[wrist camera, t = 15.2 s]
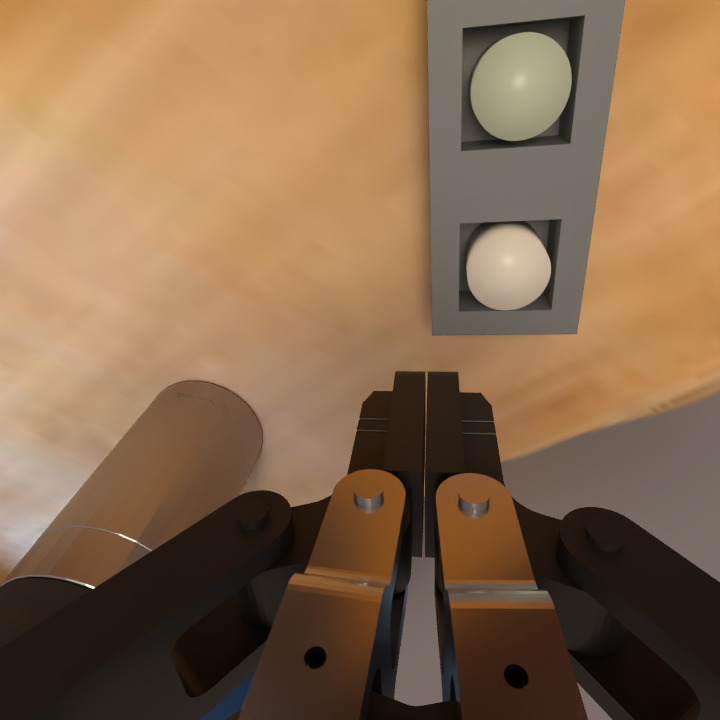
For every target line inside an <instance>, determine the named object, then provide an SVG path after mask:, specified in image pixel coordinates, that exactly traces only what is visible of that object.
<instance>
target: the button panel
mask: <svg viewBox="0 0 720 720" xmlns="http://www.w3.org/2000/svg"><path fill="white" fill-rule="evenodd" d="M624 5H625V0H427V24H428V91H429V157H430V224H431V291H432V336H434V335H540V334H577V330H578V323H579V316H580V309H581V302H582V295H583V289H584V282H585V275H586V268H587V261H588V254H589V247H590V240H591V233H592V226H593V219H594V213H595V206H596V199H597V192H598V185H599V178H600V171H601V164H602V157H603V150H604V143H605V136H606V130H607V123H608V116H609V109H610V102H611V95H612V88H613V81H614V74H615V67H616V60H617V53H618V47H619V40H620V33H621V26H622V19H623V12H624ZM523 32H534V33H540V34H543V35H546V36H548V37H550V38H551V39H553V40H554V41H556V42H557V43H558V44H559V45H560V46H561V48H562V49H563V50H564V52H565V54H566V55H567V57H568V60H569V63H570V67H571V74H572V83H571V90H570V95H569V98H568V101H567V103H566V106H565V107H564V109H563V111H562V113H561V114H560V116H559V117H558V118H557V120H556V121H555V122H554V123H553V124H552V125H551V126H550V127H549V128H548V129H546V130H545V131H543V132H542V133H540V134H538V135H537V136H534V137H532V138H529V139H526V140H521V141H508V140H503V139H500V138H497V137H495V136H493V135H492V134H490V133H489V132H488V131H486V130H485V129H484V128H483V126H482V125H481V124H480V122H479V121H478V119H477V117H476V115H475V113H474V111H473V109H472V107H471V104H470V100H469V90H468V88H469V80H470V75H471V72H472V69H473V67H474V65H475V63H476V61H477V59H478V58H479V57H480V55H481V54H482V53H483V52H484V50H485V49H486V48H487V47H489V46H490V45H491V44H492V43H494V42H495V41H497V40H499V39H501V38H503V37H506V36H509V35H513V34H517V33H523ZM507 221H525V222H527V223H528V224H530V225H531V226H532V227H533V228H534V230H535V231H536V233H537V234H538V236H539V238H540V240H541V242H542V244H543V246H544V248H545V250H546V252H547V254H548V256H549V259H550V263H551V274H550V279H549V282H548V284H547V286H546V288H545V290H544V291H543V292H542V294H541V295H540V296H539V297H538V298H537V299H536V300H534V301H533V302H532V303H530V304H528V305H526V306H524V307H522V308H518V309H514V310H496V309H493V308H490V307H487V306H485V305H484V304H482V303H481V302H479V301H478V300H477V299H476V298H475V296H474V295H473V294H472V292H471V290H470V288H469V285H468V280H467V271H466V261H465V249H466V245H467V242H468V240H469V238H470V236H471V235H472V233H473V232H474V231H475V230H476V229H477V228H478V227H479V226H480V225H482V224H483V223H485V222H507Z"/></svg>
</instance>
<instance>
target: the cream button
mask: <svg viewBox="0 0 720 720" xmlns="http://www.w3.org/2000/svg"><path fill="white" fill-rule="evenodd" d="M465 261H466V271H467V280H468V285H469V288H470V290H471V292H472V294H473V295H474V296H475V298H476V299H477V300H478V301H479V302H481V303H482V304H484V305H485V306H487V307H490V308H493V309H496V310H514V309H518V308H522V307H524V306H526V305H528V304H530V303H532V302H533V301H534V300H536V299H537V298H538V297H539V296H540V295H541V294H542V292H543V291H544V290H545V288H546V286H547V284H548V282H549V279H550V274H551V263H550V259H549V256H548V254H547V252H546V250H545V248H544V246H543V244H542V242H541V240H540V238H539V236H538V234H537V233H536V231H535V230H534V228H533V227H532V226H531V225H530V224H528V223H527V222H525V221H507V222H485V223H483V224H482V225H480V226H479V227H478V228H477V229H476V230H475V231H474V232H473V233H472V235H471V236H470V238H469V240H468V242H467V245H466V249H465Z"/></svg>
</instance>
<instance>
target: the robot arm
mask: <svg viewBox="0 0 720 720" xmlns="http://www.w3.org/2000/svg"><path fill="white" fill-rule="evenodd" d="M261 446H262V430H261V427H260V424H259V421H258V420H257V418H256V416H255V414H254V412H253V411H252V410H251V409H250V408H249V407H248V405H247V404H246V403H245V402H244V401H242V400H241V399H240V398H239V397H238V396H236V395H235V394H233V393H231V392H230V391H228V390H226V389H224V388H222V387H219V386H217V385H214V384H211V383H206V382H201V381H185V382H179V383H176V384H173V385H171V386H169V387H167V388H166V389H164V390H163V391H162V392H160V394H159V395H158V396H157V397H156V398H155V400H154V401H153V402H152V403H151V404H150V406H149V407H148V408H147V409H146V410H145V412H144V413H143V414H142V415H141V416H140V418H139V419H138V420H137V421H136V422H135V423H134V425H133V426H132V427H131V428H130V429H129V430H128V432H127V433H126V434H125V435H124V436H123V438H122V439H121V440H120V441H119V442H118V444H117V445H116V446H115V447H114V448H113V450H112V451H111V452H110V453H109V454H108V456H107V457H106V458H105V459H104V461H103V462H102V463H101V464H100V465H99V467H98V468H97V469H96V470H95V471H94V473H93V474H92V475H91V476H90V477H89V479H88V480H87V481H86V482H85V483H84V485H83V486H82V487H81V488H80V489H79V491H78V492H77V493H76V494H75V495H74V497H73V498H72V499H71V500H70V501H69V503H68V504H67V505H66V506H65V507H64V509H63V510H62V511H61V512H60V513H59V515H58V516H57V517H56V518H55V519H54V521H53V522H52V523H51V524H50V525H49V527H48V528H47V529H46V530H45V531H44V533H43V534H42V535H41V536H40V537H39V539H38V540H37V541H36V543H35V544H34V545H33V546H32V547H31V549H30V550H29V551H28V552H27V553H26V555H25V556H24V557H23V558H22V560H21V561H20V562H19V563H18V564H17V566H16V567H15V568H14V569H13V570H12V572H11V573H10V574H9V575H8V576H7V578H6V579H5V580H4V581H3V582H2V584H1V585H0V720H200V719H201V718H202V717H203V716H205V715H206V714H207V713H208V712H209V711H210V710H211V709H212V708H214V707H215V706H216V705H217V704H218V703H219V702H220V701H221V700H222V699H224V698H225V697H226V696H227V695H228V694H229V693H230V692H231V691H233V690H234V689H235V688H236V687H237V686H238V685H239V684H240V683H241V682H243V681H244V680H245V679H246V678H247V677H248V676H249V675H250V674H252V673H253V672H254V671H255V670H256V672H255V675H254V677H253V680H252V682H251V685H250V688H249V691H248V693H247V696H246V699H245V701H244V704H243V707H242V710H240V711H239V712H237V713H235V714H234V715H232V716H231V717H229V718H227V719H226V720H588V717H587V714H586V710H585V707H584V704H583V701H582V697H581V694H580V691H579V687H578V684H577V682H578V683H579V684H580V686H581V687H582V688H583V689H584V690H585V691H586V692H587V693H588V694H589V695H590V696H591V697H592V698H593V699H594V700H595V701H596V702H597V704H599V705H600V707H601V708H602V709H603V710H604V711H605V712H606V713H607V714H608V715H609V716H610V717H611V718H612V719H613V720H720V582H718V581H717V580H716V579H714V578H712V577H711V576H710V575H708V574H707V573H706V572H704V571H703V570H701V569H700V568H698V567H697V566H696V565H694V564H693V563H691V562H690V561H688V560H687V559H686V558H684V557H683V556H681V555H680V554H678V553H677V552H676V551H674V550H673V549H671V548H670V547H668V546H667V545H665V544H664V543H663V542H661V541H660V540H658V539H657V538H656V537H654V536H653V535H651V534H650V533H648V532H647V531H646V530H644V529H643V528H641V527H640V526H638V525H637V524H636V523H634V522H633V521H631V520H630V519H628V518H626V517H625V516H623V515H621V514H619V513H617V512H614V511H611V510H608V509H604V508H597V507H584V508H579V509H575V510H573V511H571V512H569V513H568V514H567V515H566V516H565V517H564V518H563V520H559V519H556V518H552V517H549V516H545V515H542V514H539V513H536V512H534V511H531V510H529V509H527V508H526V507H524V506H522V505H521V504H519V503H518V502H517V501H516V500H515V499H513V497H512V496H511V495H510V493H509V491H508V490H507V489H506V487H505V485H504V481H503V475H502V470H501V463H500V456H499V450H498V444H497V437H496V431H495V425H494V419H493V412H492V406H491V405H490V403H489V402H488V401H487V400H486V399H485V398H484V396H483V395H482V394H481V393H462V392H459V378H458V372H428V387H427V424H426V461H425V372H415V371H396V372H395V379H394V387H393V391H373V393H372V394H371V395H370V396H369V397H368V398H367V399H366V400H365V401H364V402H363V404H362V409H361V413H360V420H359V423H358V427H357V432H356V437H355V441H354V446H353V451H352V455H351V460H350V465H349V469H348V474H347V476H345V477H344V478H342V479H341V480H340V481H339V482H338V483H337V485H336V486H335V488H334V490H333V493H332V495H331V496H329V497H327V498H325V499H323V500H320V501H318V502H314V503H310V504H305V505H300V506H295V507H290V504H289V503H288V501H287V500H286V499H285V498H284V497H283V496H281V495H280V494H277V493H275V492H271V491H264V490H262V491H252V492H248V493H244V494H242V495H240V493H241V491H242V489H243V487H244V485H245V483H246V480H247V478H248V476H249V474H250V472H251V470H252V467H253V465H254V463H255V461H256V459H257V457H258V454H259V452H260V450H261ZM424 470H425V557H434V558H435V607H436V620H437V632H438V644H439V657H440V669H441V680H442V681H441V682H442V698H443V702H440V703H435V704H429V705H424V706H410V705H406V704H404V703H401V702H399V701H396V700H394V694H395V683H396V675H397V668H398V660H399V653H400V646H401V639H402V632H403V624H404V617H405V610H406V603H407V595H408V583H409V580H410V576H411V562H412V561H411V560H412V556H415V557H422V539H423V504H424ZM239 495H240V496H239Z"/></svg>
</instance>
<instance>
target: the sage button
mask: <svg viewBox="0 0 720 720" xmlns="http://www.w3.org/2000/svg"><path fill="white" fill-rule="evenodd" d="M571 83H572V74H571V67H570V63H569V60H568V57H567V55H566V54H565V52H564V50H563V49H562V48H561V46H560V45H559V44H558V43H557V42H556V41H554V40H553V39H551V38H550V37H548V36H546V35H543V34H540V33H534V32H523V33H517V34H513V35H509V36H506V37H503V38H501V39H499V40H497V41H495V42H494V43H492V44H491V45H490V46H489V47H487V48H486V49H485V50H484V52H483V53H482V54H481V55H480V57H479V58H478V59H477V61H476V63H475V65H474V67H473V69H472V72H471V75H470V80H469V88H468V90H469V100H470V104H471V107H472V109H473V111H474V113H475V115H476V117H477V119H478V121H479V122H480V124H481V125H482V126H483V128H484V129H485V130H486V131H488V132H489V133H490V134H492V135H493V136H495V137H497V138H500V139H503V140H508V141H521V140H526V139H529V138H532V137H534V136H537V135H538V134H540V133H542V132H543V131H545V130H546V129H548V128H549V127H550V126H551V125H552V124H553V123H554V122H555V121H556V120H557V118H558V117H559V116H560V114H561V113H562V111H563V109H564V107H565V106H566V103H567V101H568V98H569V95H570V90H571Z"/></svg>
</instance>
